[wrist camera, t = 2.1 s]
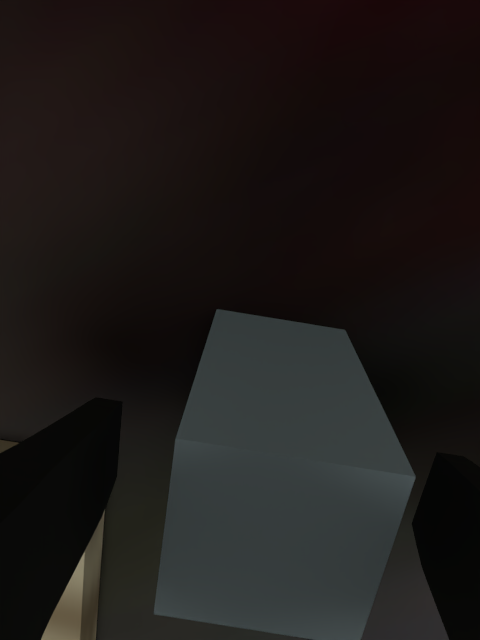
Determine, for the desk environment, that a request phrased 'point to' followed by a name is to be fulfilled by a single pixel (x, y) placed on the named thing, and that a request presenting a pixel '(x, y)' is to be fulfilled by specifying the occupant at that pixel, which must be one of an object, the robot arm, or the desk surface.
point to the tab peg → (281, 484)
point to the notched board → (77, 591)
